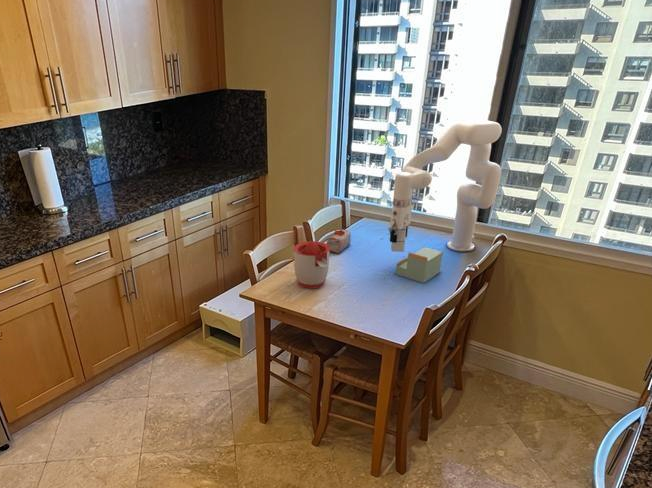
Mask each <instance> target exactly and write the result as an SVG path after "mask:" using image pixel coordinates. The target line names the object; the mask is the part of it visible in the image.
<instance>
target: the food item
mask: <svg viewBox="0 0 652 488" xmlns="http://www.w3.org/2000/svg"><path fill="white" fill-rule="evenodd" d="M351 235H352V234H351V231H350V230H347V229H340V230H337V229H335V230H334V233H333V234H332V233H331V235H330V236H328V238H327V240H326V244H327V245H329V247H330V250H329V252H332V253H335V254H338V255H339V254H340V253H342V252H343V251H344V250H345V249H346V248H348V247H349V246H350V245H351Z"/></svg>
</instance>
